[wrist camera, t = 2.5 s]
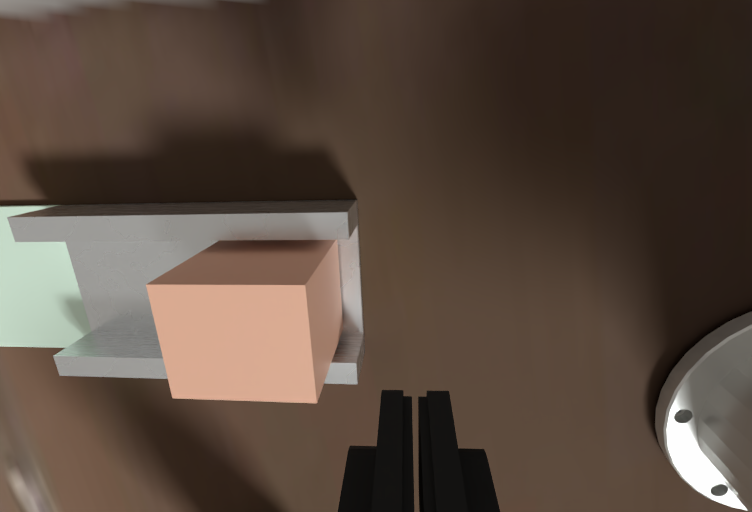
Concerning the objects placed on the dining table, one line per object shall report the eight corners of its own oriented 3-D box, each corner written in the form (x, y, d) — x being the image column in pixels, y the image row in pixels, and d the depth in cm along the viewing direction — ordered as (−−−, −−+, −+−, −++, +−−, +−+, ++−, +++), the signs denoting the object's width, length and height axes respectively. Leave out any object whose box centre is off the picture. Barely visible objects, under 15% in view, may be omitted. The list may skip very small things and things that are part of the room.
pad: (61, 204, 21) (56, 205, 21) (101, 345, 24) (98, 348, 24) (-55, 207, 22) (-61, 207, 22) (-3, 343, 25) (-8, 346, 24)
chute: (357, 199, 20) (347, 212, 17) (364, 351, 22) (357, 384, 20) (61, 204, 21) (6, 217, 18) (101, 345, 24) (59, 375, 21)
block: (336, 238, 20) (305, 284, 14) (343, 328, 21) (316, 403, 16) (221, 239, 20) (145, 284, 15) (235, 326, 22) (172, 398, 16)
